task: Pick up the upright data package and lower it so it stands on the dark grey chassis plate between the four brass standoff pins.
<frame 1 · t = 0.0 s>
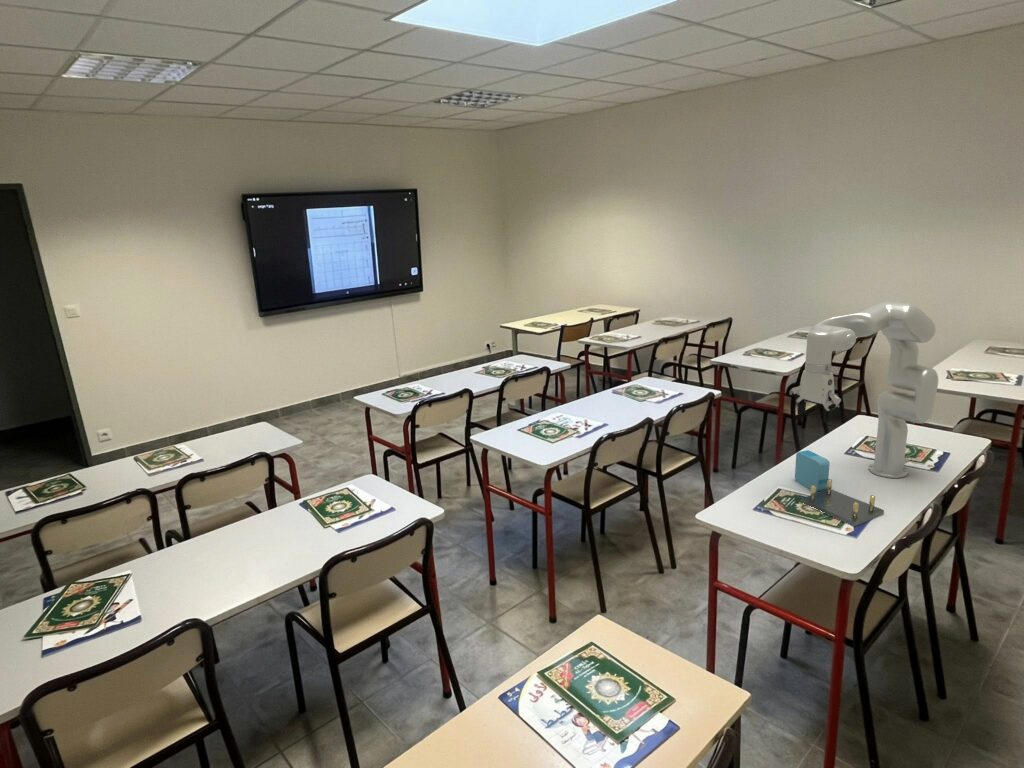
hand: (813, 417, 204), 31 cm above the table, tool pointing down, fingers open, 9 cm apart
chassis: (840, 508, 207), on the table
data package: (810, 486, 224), on the table
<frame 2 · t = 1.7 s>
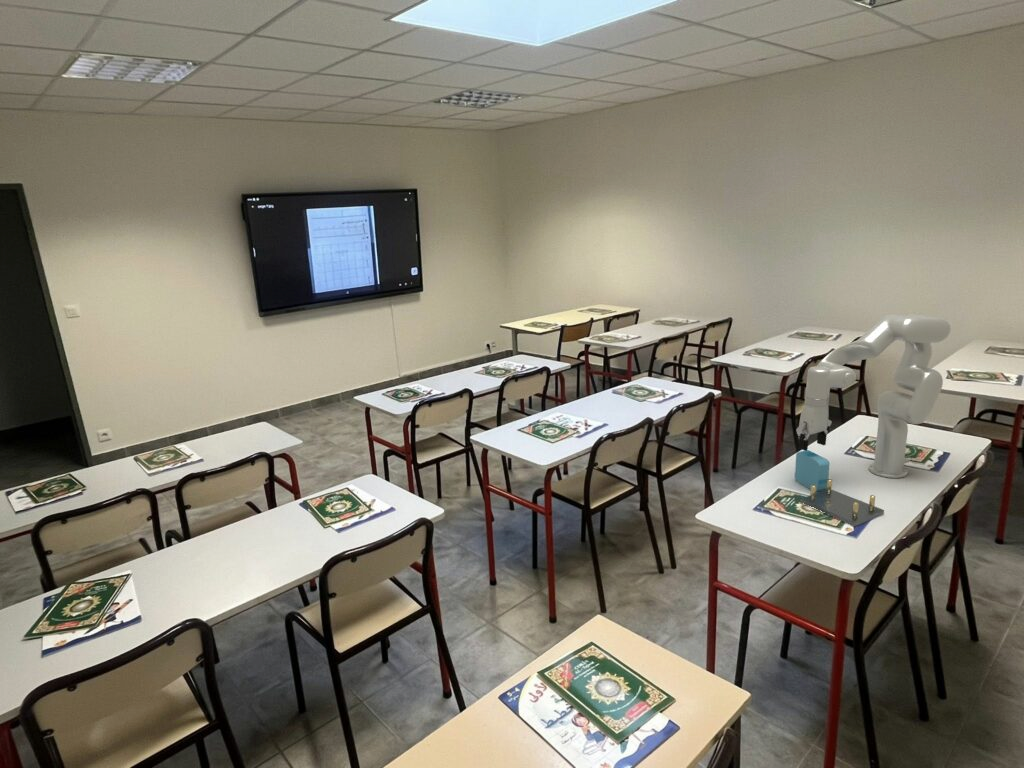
hand: (812, 446, 220), 15 cm above the table, tool pointing down, fingers open, 9 cm apart
nothing on the table moved.
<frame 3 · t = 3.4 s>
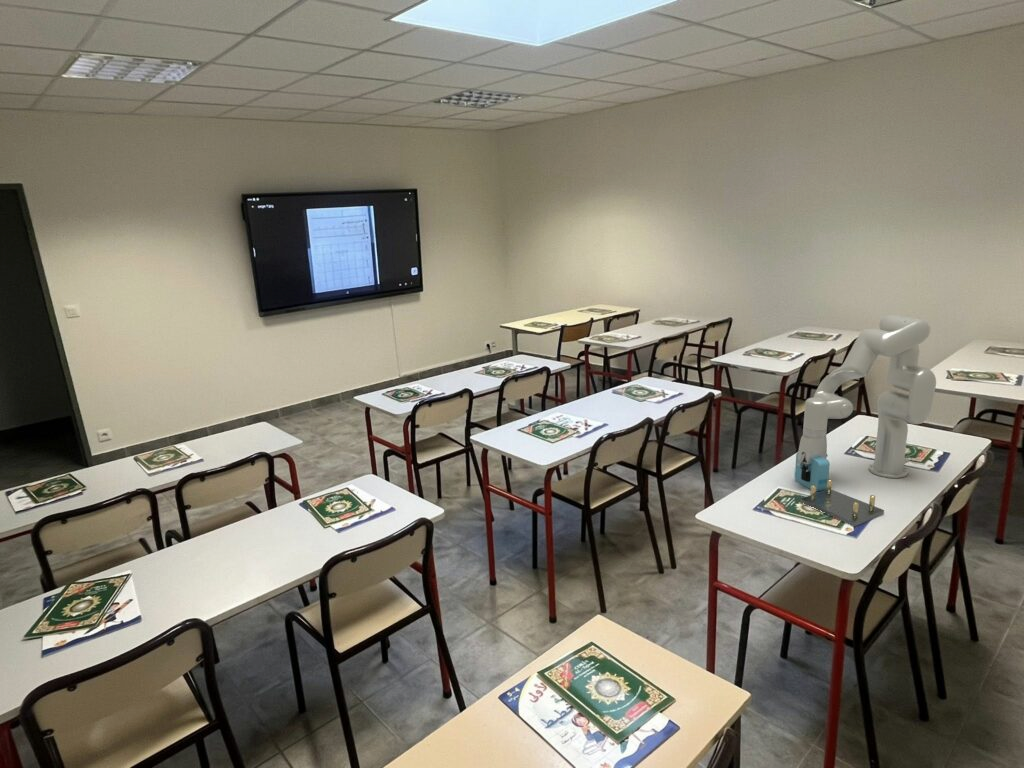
hand: (811, 478, 224), 3 cm above the table, tool pointing down, fingers closed on data package, 5 cm apart
data package: (810, 486, 224), on the table, touching gripper
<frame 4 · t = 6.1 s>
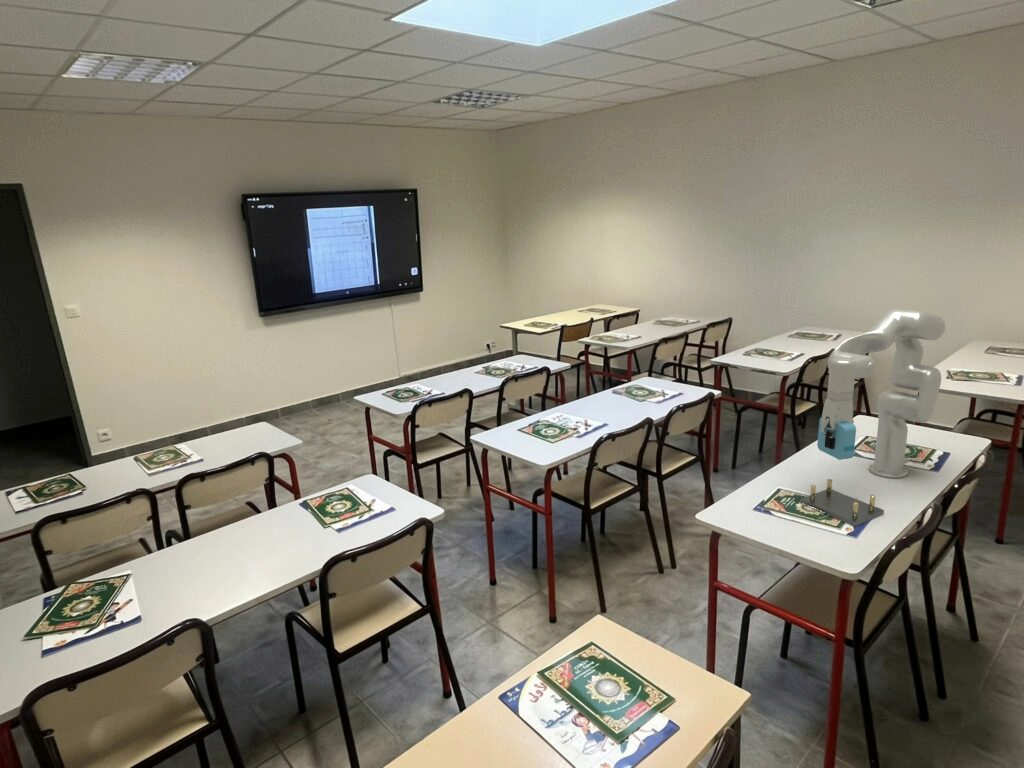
hand: (835, 445, 207), 21 cm above the table, tool pointing down, fingers closed on data package, 5 cm apart
data package: (834, 454, 207), point 17 cm above the table, touching gripper
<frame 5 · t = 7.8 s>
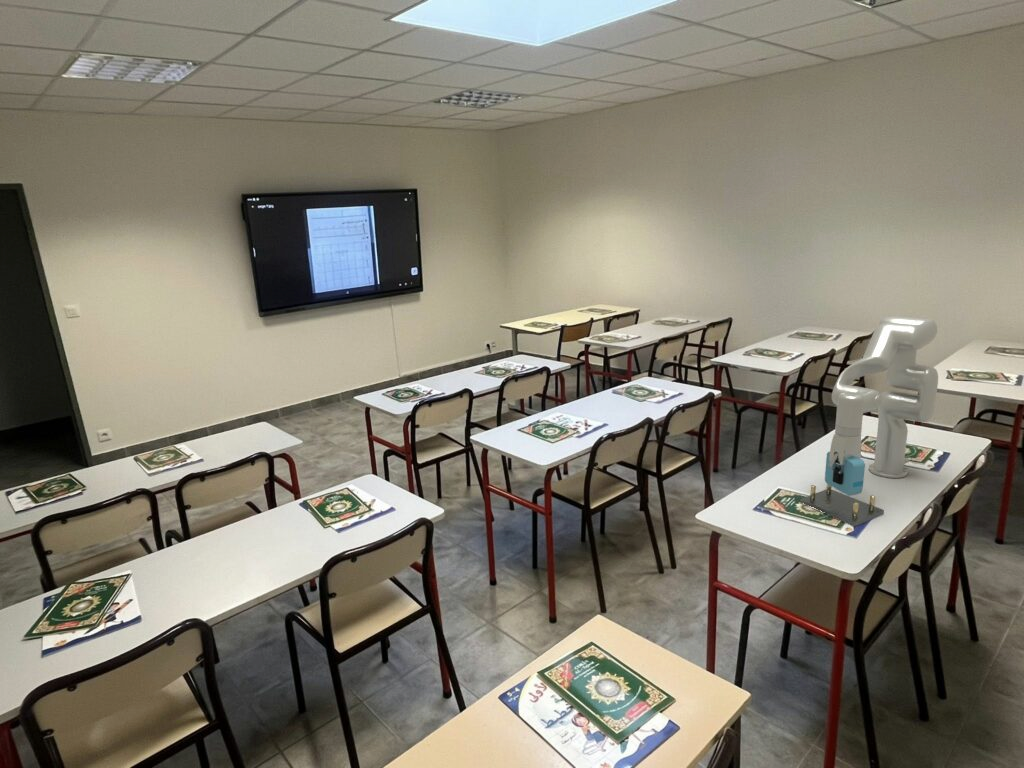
hand: (843, 480, 204), 10 cm above the table, tool pointing down, fingers closed on data package, 5 cm apart
data package: (842, 489, 205), point 7 cm above the table, touching gripper
when the fingers open (6 cm above the table, at t = 9.2 s): data package drops 1 cm, resting on chassis.
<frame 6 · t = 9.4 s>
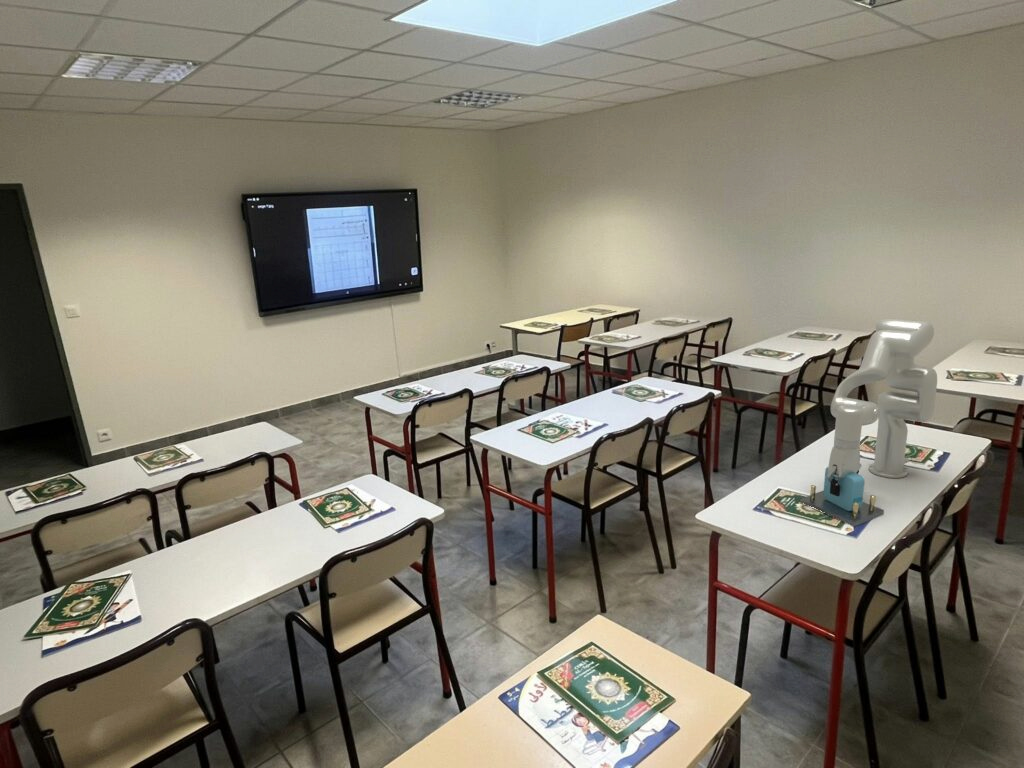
hand: (842, 491, 205), 6 cm above the table, tool pointing down, fingers open, 7 cm apart
data package: (841, 504, 206), point 1 cm above the table, touching chassis
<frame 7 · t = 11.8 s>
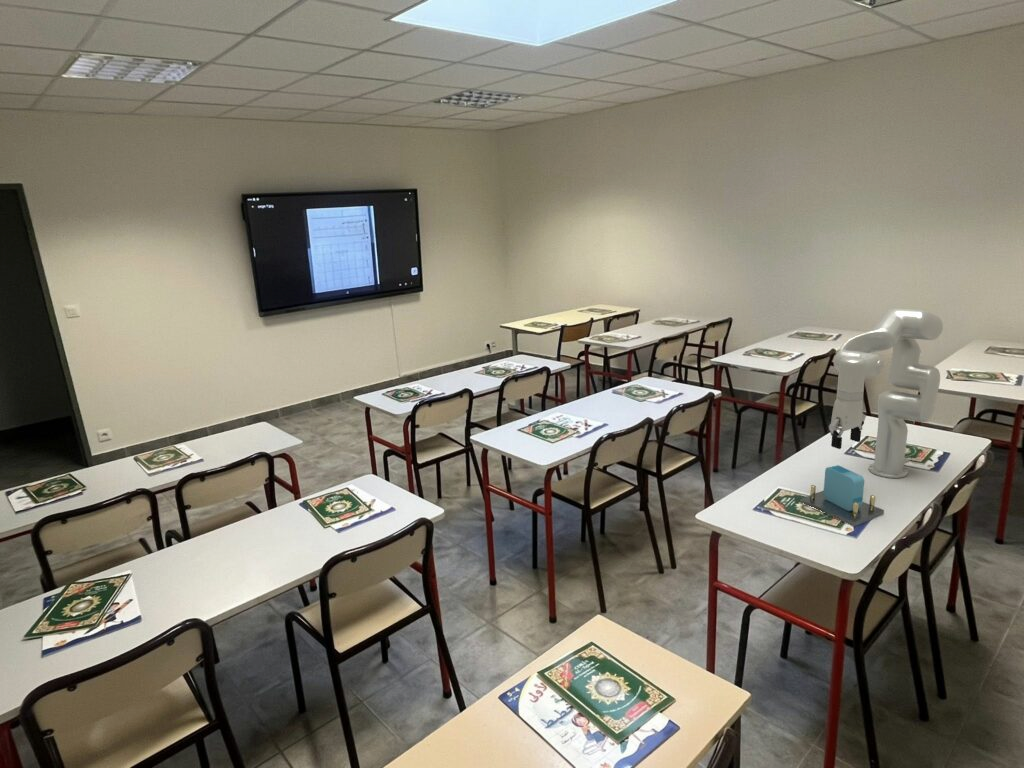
hand: (845, 444, 202), 23 cm above the table, tool pointing down, fingers open, 9 cm apart
nothing on the table moved.
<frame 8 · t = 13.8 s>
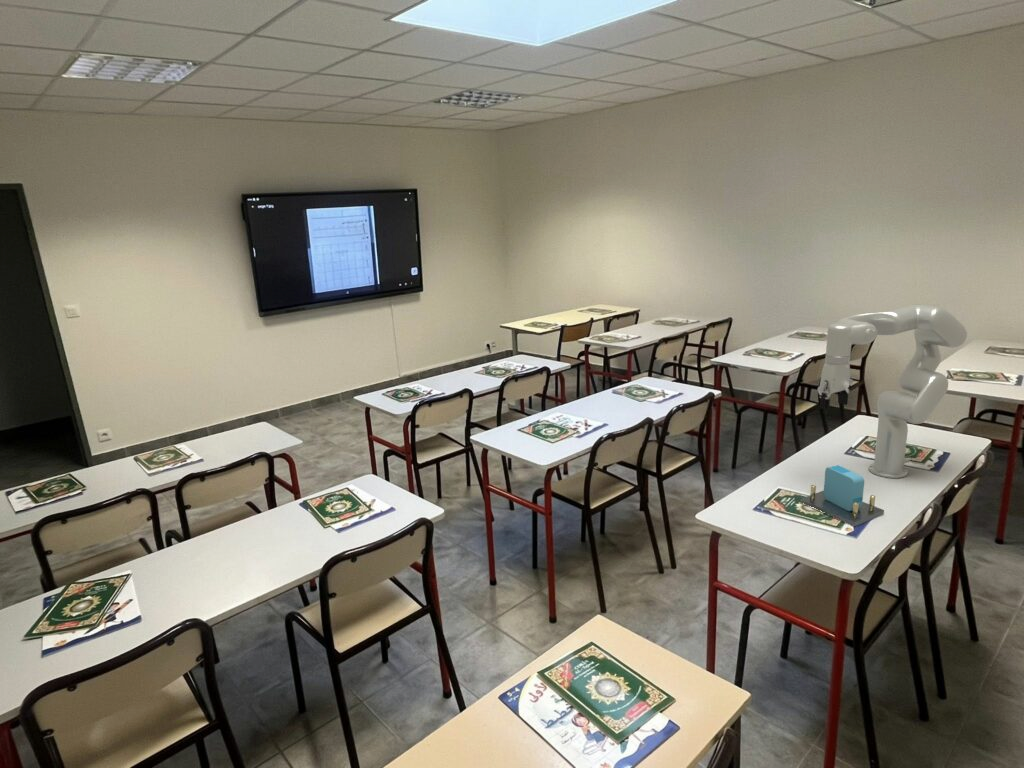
hand: (833, 406, 216), 30 cm above the table, tool pointing down, fingers open, 9 cm apart
nothing on the table moved.
at the end: data package 0.3 cm off-centre on the chassis, point 1.3 cm above the chassis's base; data package tilted 0°; the gripper is holding nothing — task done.
